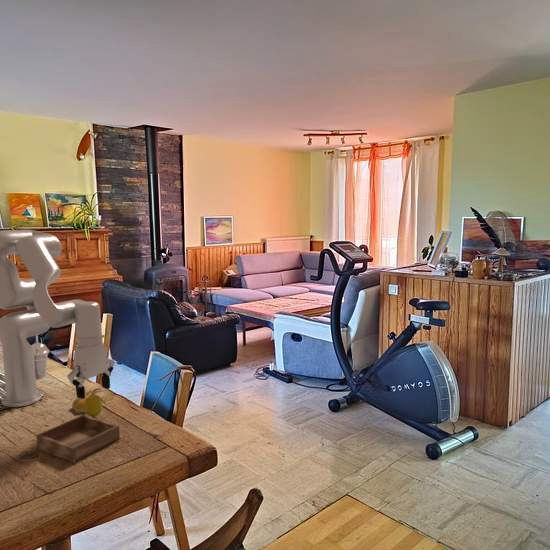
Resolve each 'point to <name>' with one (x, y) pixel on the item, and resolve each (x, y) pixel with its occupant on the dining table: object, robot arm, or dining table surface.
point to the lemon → (93, 405)
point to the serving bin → (78, 438)
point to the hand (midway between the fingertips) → (94, 392)
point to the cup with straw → (40, 358)
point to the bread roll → (79, 404)
